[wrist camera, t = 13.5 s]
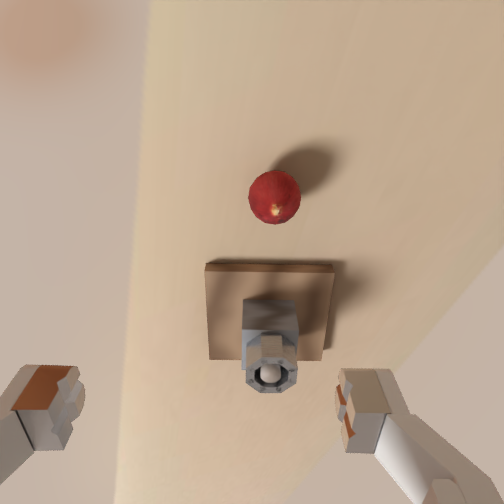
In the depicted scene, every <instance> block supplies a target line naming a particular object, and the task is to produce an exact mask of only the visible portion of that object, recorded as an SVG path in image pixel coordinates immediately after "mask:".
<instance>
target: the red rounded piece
mask: <svg viewBox="0 0 504 504" xmlns="http://www.w3.org/2000/svg"><path fill="white" fill-rule="evenodd" d="M248 199H249V203H250V207H251V210H252V211H253V213H254V214H255V216H256V217H257V218H259V219H260V220H262V221H263V222H265V223H269V224H280V223H285V222H287V221H288V220H289V219H290V218H292V217H293V216H294V215H295V213H296V212H297V210H298V208H299V206H300V201H301V194H300V190H299V186H298V184H297V183H296V181H295V180H294V178H293V177H292V176H290V175H288V174H287V173H285V172H282V171H275V170H274V171H270V172H265V173H264V174H262V175H260V176H259V177H257V178H256V180H255V181H254V183H253V184H252V186H251V187H250V190H249V196H248Z"/></svg>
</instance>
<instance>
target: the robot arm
mask: <svg viewBox="0 0 504 504" xmlns="http://www.w3.org/2000/svg"><path fill="white" fill-rule="evenodd" d="M79 376H80V372H79V370H78V367H76V366H61V365H25V366H23V367H22V368H20V370H19V371H18V373H17V374H16V375H15V377H14V378H13V380H12V381H11V382H10V384H9V385H8V387H7V388H6V390H5V391H4V392H3V394H2V395H1V397H0V484H2V483H3V482H4V481H5V480H6V479H7V478H8V477H9V476H10V475H11V474H12V473H13V472H14V471H15V470H16V469H17V468H18V467H19V466H20V465H22V464H23V463H24V462H25V461H26V460H27V459H28V458H29V457H30V456H31V455H32V454H33V453H34V451H49V450H64V448H65V446H66V444H67V442H68V440H69V437H70V435H71V433H72V431H73V427H72V424H71V422H72V421H73V420H75V419H76V418H77V417H78V416H79V415H80V413H81V411H82V408H83V405H84V401H85V389H84V385H83V384H82V383H81V382H80V381H79V380H78V377H79ZM338 379H339V383H340V384H339V385H338V386H337V387H336V391H335V407H336V413H337V418H338V419H339V420H340V421H341V422H342V428H341V435H342V439H343V444H344V448H345V452H346V453H370V454H374V456H375V457H376V458H377V459H378V461H379V462H380V463H381V464H382V465H383V466H384V468H385V469H386V470H387V472H388V473H389V474H390V475H391V476H392V478H393V479H394V480H395V481H396V482H397V484H398V485H399V486H400V487H401V489H402V490H403V491H404V492H405V493H406V495H407V496H408V497H409V498H410V500H411V501H412V502H413V503H414V504H504V502H503V500H502V498H501V496H500V495H499V493H498V491H497V489H496V487H495V485H494V484H493V482H492V480H491V478H490V477H488V476H487V475H486V474H485V473H484V472H482V471H481V470H480V469H479V468H478V467H477V466H476V465H474V464H473V463H472V462H471V461H470V460H468V459H467V458H466V457H465V456H464V455H463V454H461V453H460V452H459V451H458V450H457V449H456V448H454V447H453V446H452V445H451V444H450V443H448V442H447V441H446V440H445V439H444V438H442V437H441V436H440V435H439V434H438V433H437V432H435V431H434V430H433V429H432V428H431V427H429V426H428V425H427V424H426V423H425V422H424V421H422V420H421V419H420V418H419V417H418V416H416V415H413V414H410V412H409V410H408V407H407V405H406V403H405V401H404V398H403V396H402V394H401V391H400V389H399V387H398V384H397V382H396V380H395V377H394V375H393V373H392V371H391V370H390V369H340V371H339V375H338Z"/></svg>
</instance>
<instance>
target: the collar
mask: <svg viewBox="0 0 504 504" xmlns="http://www.w3.org/2000/svg"><path fill="white" fill-rule="evenodd" d="M264 364H280V370H281V378H280V379H279V380H278V381H277V382H274V383H267V382H265V381H263V380H262V379H261V372H260V367H261V366H262V365H264ZM297 370H298V367H297V360H296V353H295V346H294V343H292V342H291V341H290V340H289V339H287V338H286V337H285V336H284V335H283V334H281V333H260V334H259V335H257V336H256V337H255V338H253V339H252V340H250V341H249V342H248V343H246V383H247V384H248V385H250V386H251V387H252V388H254V389H255V390H257V391H258V392H260V393H281V392H283V391H285V390H286V389H288V388H289V387H291V386H293V385H294V384H296V379H297Z"/></svg>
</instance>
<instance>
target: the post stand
mask: <svg viewBox="0 0 504 504" xmlns="http://www.w3.org/2000/svg"><path fill="white" fill-rule="evenodd" d="M334 276H335V272H334V269H333V266H332V265H296V264H223V263H206V267H205V288H206V305H207V323H208V341H209V359H210V360H242V370H246V343H248V342H249V341H250V340H252V339H253V338H255V337H256V336H257V335H259V334H260V333H281V334H283V335H284V336H285V337H286V338H287V339H289V340H290V341H291V342H292V343H294V346H295V353H296V360H297V361H321V359H322V353H323V346H324V340H325V333H326V327H327V321H328V314H329V308H330V301H331V295H332V289H333V282H334ZM260 372H261V379H262V380H263V381H265V382H267V383H274V382H277V381H278V380H279V379H280V378H281V370H280V364H264V365H262V366H261V367H260Z"/></svg>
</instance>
